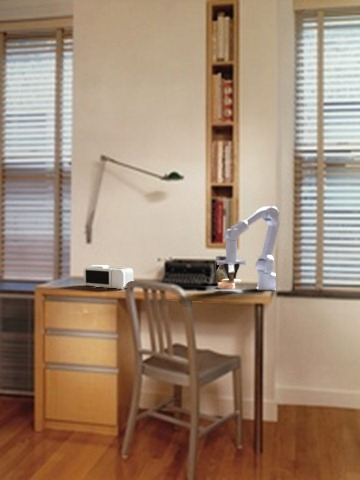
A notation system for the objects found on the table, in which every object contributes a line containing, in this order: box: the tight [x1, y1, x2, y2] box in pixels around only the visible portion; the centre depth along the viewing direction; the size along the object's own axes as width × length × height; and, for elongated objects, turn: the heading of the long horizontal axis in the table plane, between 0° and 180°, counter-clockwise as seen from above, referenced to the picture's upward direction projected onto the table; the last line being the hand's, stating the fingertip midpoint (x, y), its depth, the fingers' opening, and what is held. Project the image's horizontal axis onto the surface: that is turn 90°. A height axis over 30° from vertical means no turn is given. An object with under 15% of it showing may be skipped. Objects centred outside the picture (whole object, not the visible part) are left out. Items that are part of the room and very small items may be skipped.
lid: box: [222, 272, 242, 284], centre depth 276 cm, size 10×10×5 cm
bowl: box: [217, 282, 236, 290], centre depth 288 cm, size 9×9×3 cm
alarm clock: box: [83, 264, 135, 290], centre depth 294 cm, size 27×9×12 cm, turn 60°
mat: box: [220, 289, 244, 294], centre depth 276 cm, size 11×11×1 cm
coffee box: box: [215, 255, 234, 285], centre depth 307 cm, size 9×6×16 cm
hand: (231, 278), depth 276 cm, fingers closed on lid, 3 cm apart
